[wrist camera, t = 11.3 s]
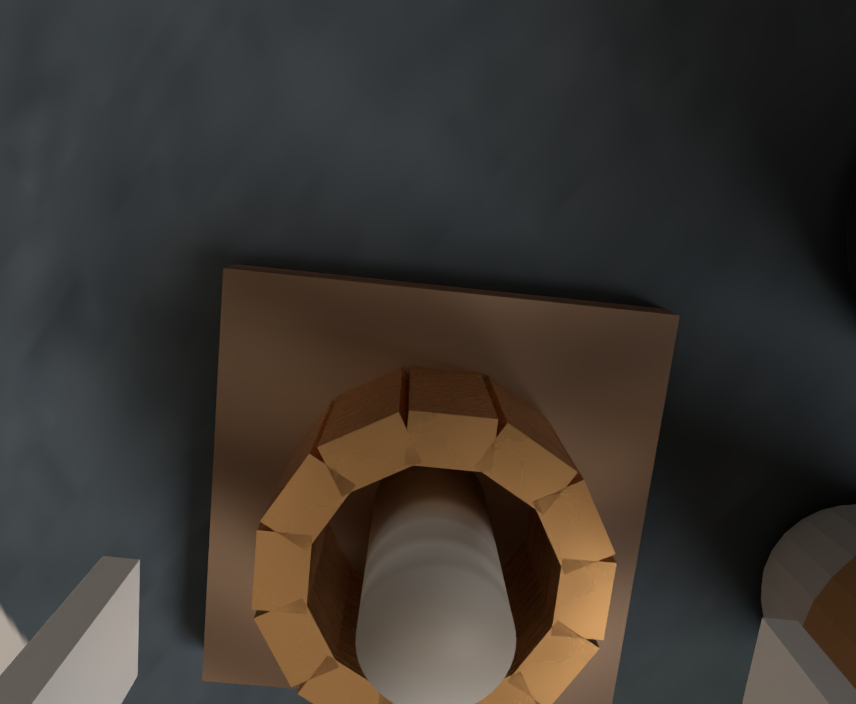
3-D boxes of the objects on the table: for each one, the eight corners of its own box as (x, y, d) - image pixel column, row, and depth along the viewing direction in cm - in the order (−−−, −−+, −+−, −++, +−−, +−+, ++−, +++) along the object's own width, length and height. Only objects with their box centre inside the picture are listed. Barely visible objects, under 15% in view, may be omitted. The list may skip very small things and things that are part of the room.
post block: (235, 264, 24) (128, 300, 15) (663, 308, 24) (805, 369, 15) (214, 654, 26) (113, 880, 18) (599, 686, 27) (688, 922, 18)
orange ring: (297, 354, 23) (265, 396, 18) (591, 383, 23) (638, 432, 18) (278, 623, 25) (243, 728, 20) (550, 647, 25) (584, 755, 20)
